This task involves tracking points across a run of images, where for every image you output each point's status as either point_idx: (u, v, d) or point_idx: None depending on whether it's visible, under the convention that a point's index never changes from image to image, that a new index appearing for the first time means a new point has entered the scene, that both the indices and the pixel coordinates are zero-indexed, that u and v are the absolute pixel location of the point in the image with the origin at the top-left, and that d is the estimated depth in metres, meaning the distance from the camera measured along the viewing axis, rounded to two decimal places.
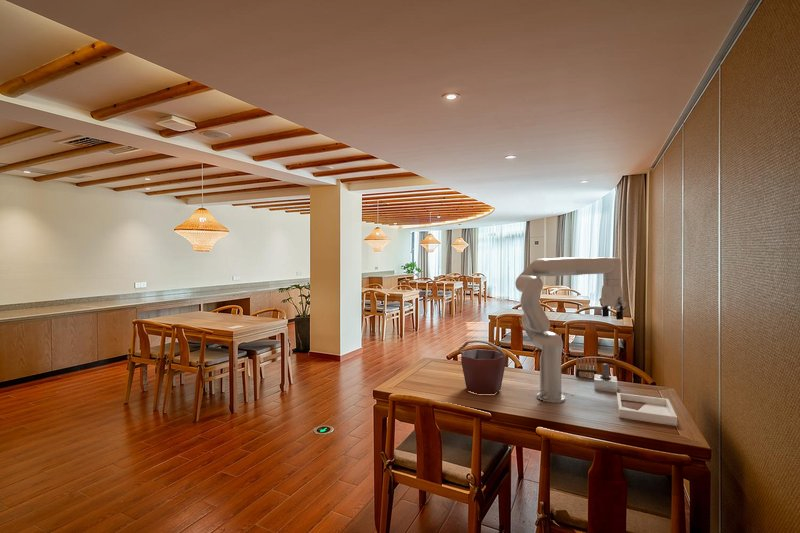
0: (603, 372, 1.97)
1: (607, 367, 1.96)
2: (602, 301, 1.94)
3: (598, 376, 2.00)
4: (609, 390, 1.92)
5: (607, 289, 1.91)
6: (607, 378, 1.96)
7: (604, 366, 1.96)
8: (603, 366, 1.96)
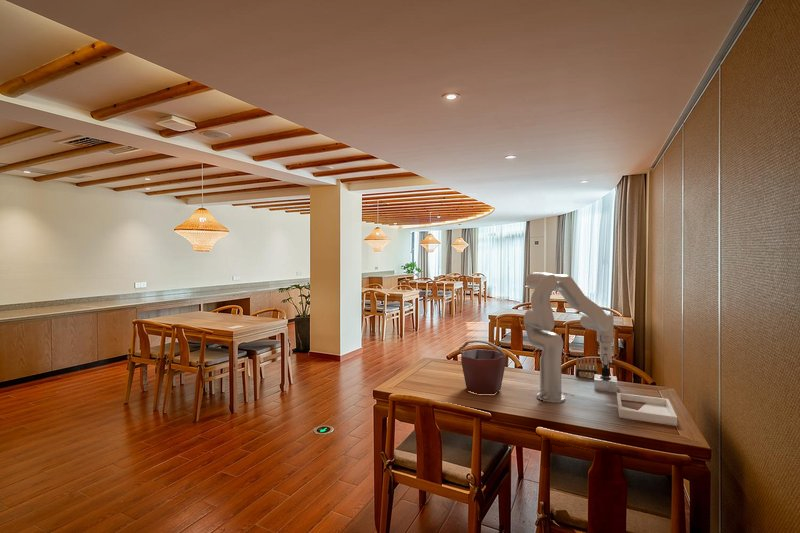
0: None
1: None
2: (611, 359, 1.93)
3: (598, 376, 2.00)
4: (609, 390, 1.92)
5: (611, 345, 1.96)
6: (607, 378, 1.96)
7: None
8: None
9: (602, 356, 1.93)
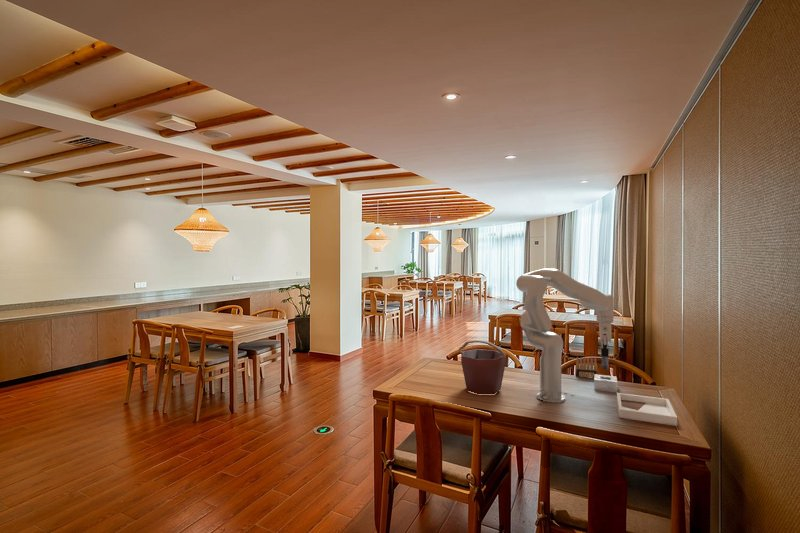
0: None
1: None
2: None
3: (598, 376, 2.00)
4: (609, 390, 1.92)
5: None
6: (606, 358, 1.96)
7: None
8: None
9: (602, 336, 1.93)
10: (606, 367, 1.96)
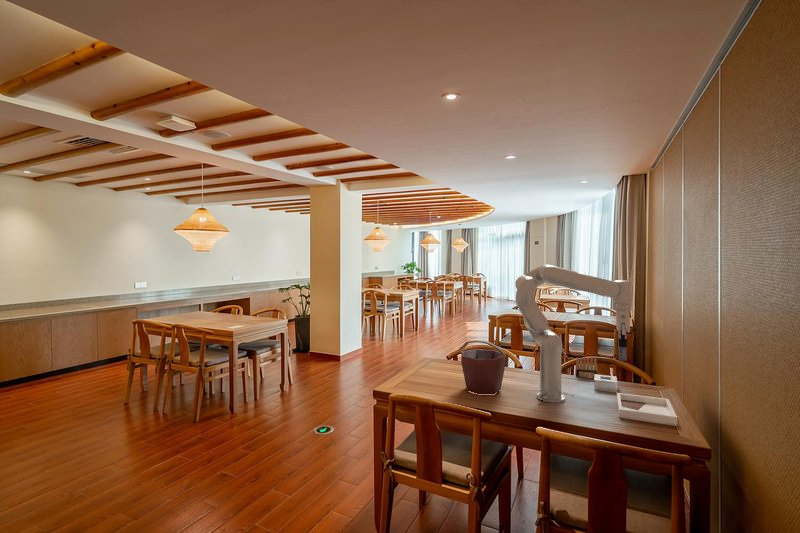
0: None
1: None
2: (629, 328, 1.79)
3: (598, 376, 2.00)
4: (609, 390, 1.92)
5: None
6: (624, 349, 1.82)
7: None
8: None
9: (619, 325, 1.79)
10: (624, 358, 1.82)
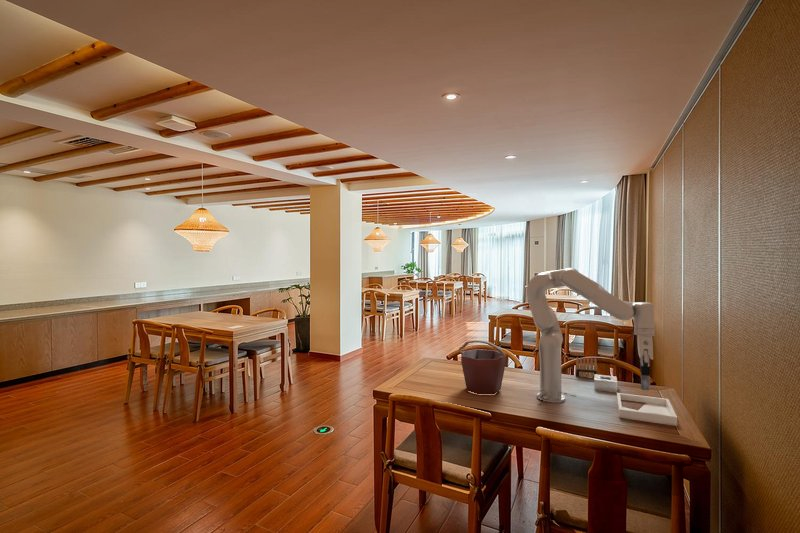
0: None
1: None
2: None
3: (598, 376, 2.00)
4: (609, 390, 1.92)
5: None
6: (647, 378, 1.67)
7: None
8: None
9: (642, 352, 1.65)
10: (647, 388, 1.67)
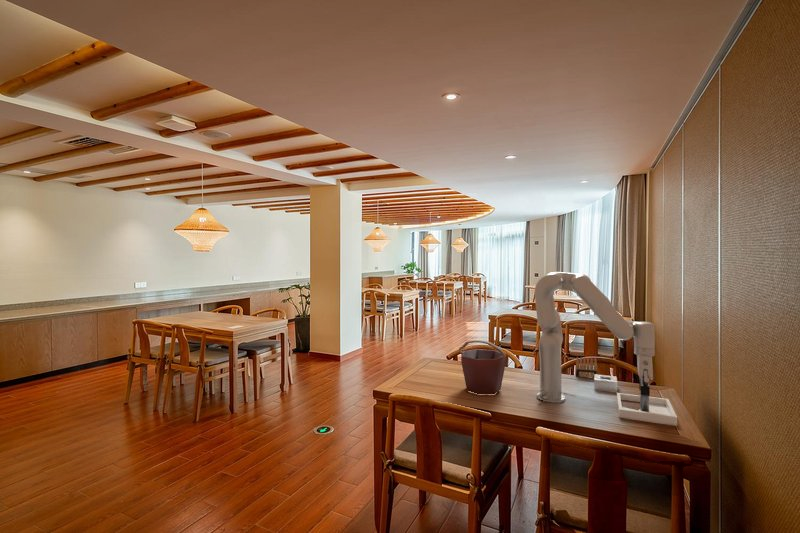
0: None
1: None
2: (652, 375, 1.64)
3: (598, 376, 2.00)
4: (609, 390, 1.92)
5: None
6: (647, 399, 1.67)
7: None
8: None
9: (641, 372, 1.65)
10: (646, 409, 1.68)
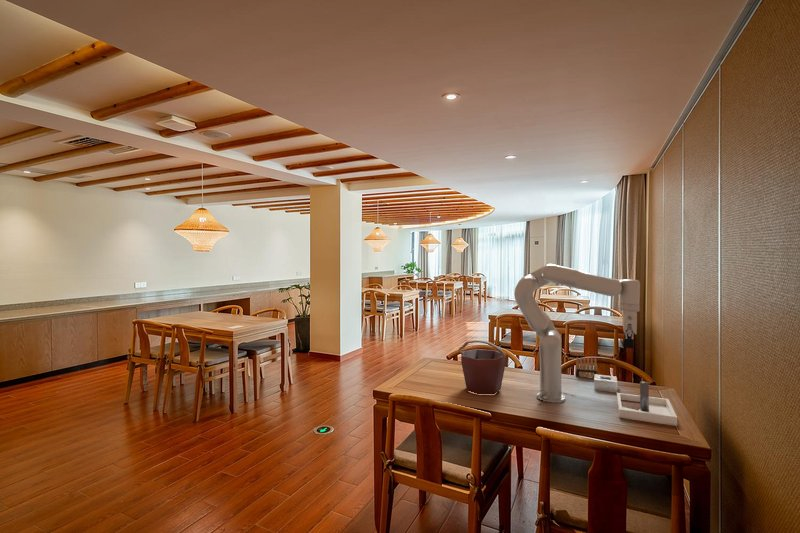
0: (642, 392, 1.68)
1: (647, 386, 1.67)
2: (636, 330, 1.70)
3: (598, 376, 2.00)
4: (609, 390, 1.92)
5: None
6: (647, 399, 1.67)
7: (643, 385, 1.68)
8: (642, 385, 1.68)
9: (626, 326, 1.70)
10: (646, 409, 1.68)
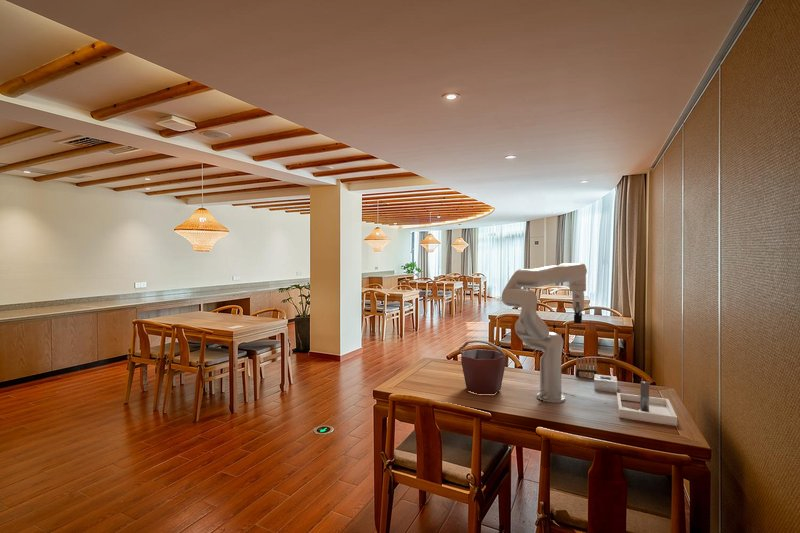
0: (642, 391, 1.68)
1: (647, 386, 1.67)
2: (583, 307, 1.94)
3: (598, 376, 2.00)
4: (609, 390, 1.92)
5: None
6: (647, 399, 1.67)
7: (644, 385, 1.68)
8: (642, 384, 1.68)
9: (574, 304, 1.95)
10: (646, 409, 1.68)
